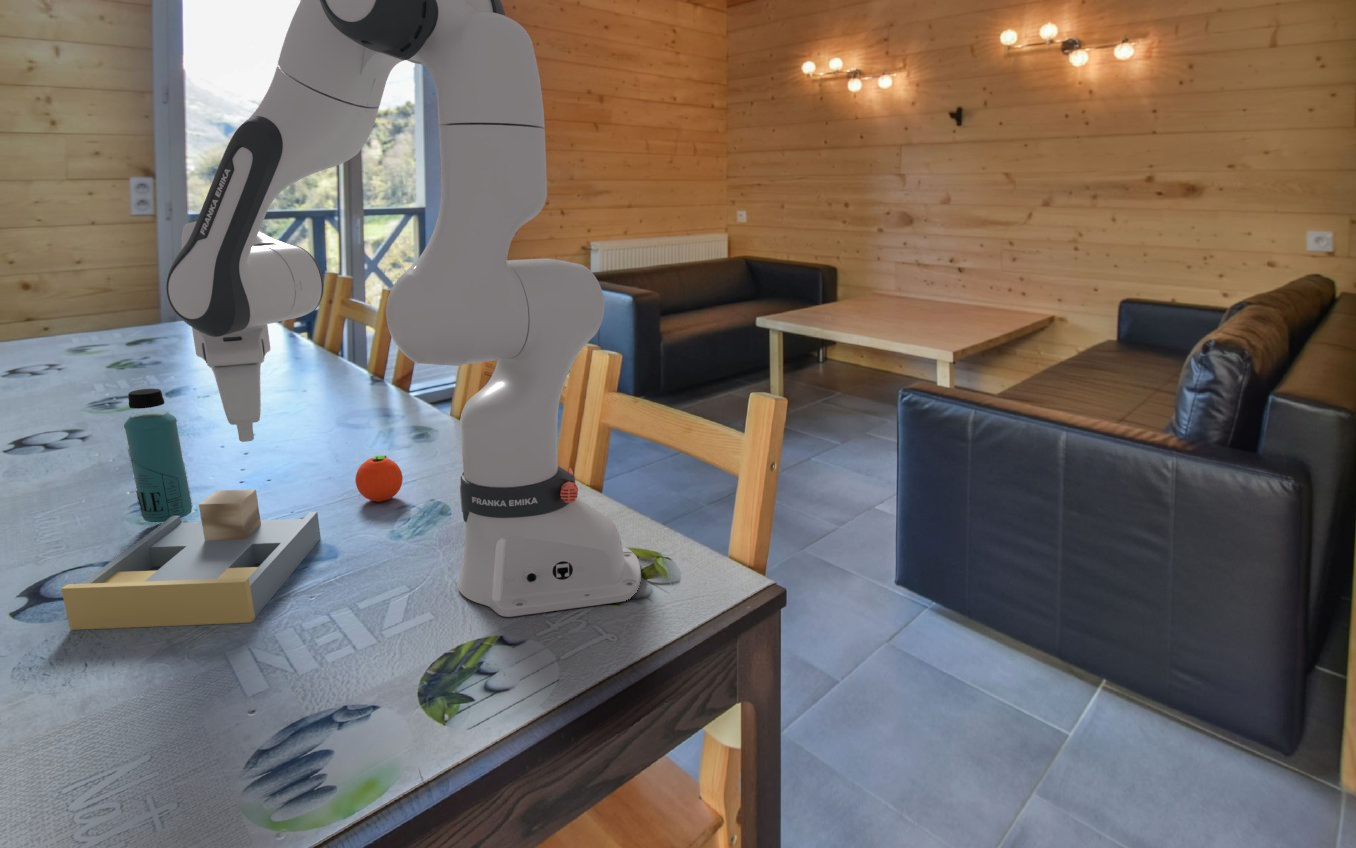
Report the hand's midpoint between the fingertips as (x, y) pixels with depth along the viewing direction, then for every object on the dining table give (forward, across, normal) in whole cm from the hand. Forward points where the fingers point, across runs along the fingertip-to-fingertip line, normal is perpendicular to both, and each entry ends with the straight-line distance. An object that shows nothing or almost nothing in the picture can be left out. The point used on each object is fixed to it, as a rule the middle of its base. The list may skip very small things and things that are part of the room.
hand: (246, 438), depth 111 cm
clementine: (+14, -4, +18) cm, 23 cm away
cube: (+10, +8, -3) cm, 13 cm away
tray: (+13, +14, -6) cm, 20 cm away
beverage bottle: (+14, -8, -11) cm, 20 cm away
